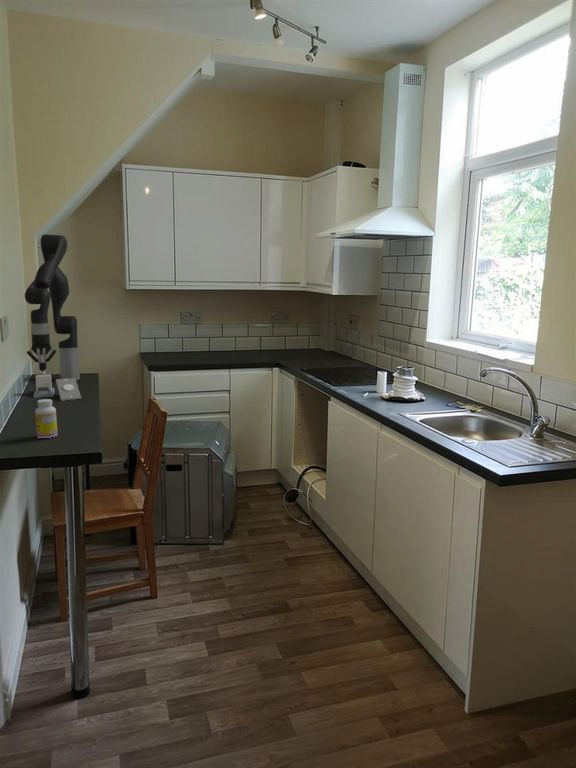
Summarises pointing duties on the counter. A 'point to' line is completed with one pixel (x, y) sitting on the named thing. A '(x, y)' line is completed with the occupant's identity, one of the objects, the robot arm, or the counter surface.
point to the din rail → (43, 390)
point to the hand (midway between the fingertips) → (42, 370)
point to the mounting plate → (50, 394)
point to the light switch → (68, 389)
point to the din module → (43, 381)
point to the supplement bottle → (46, 419)
